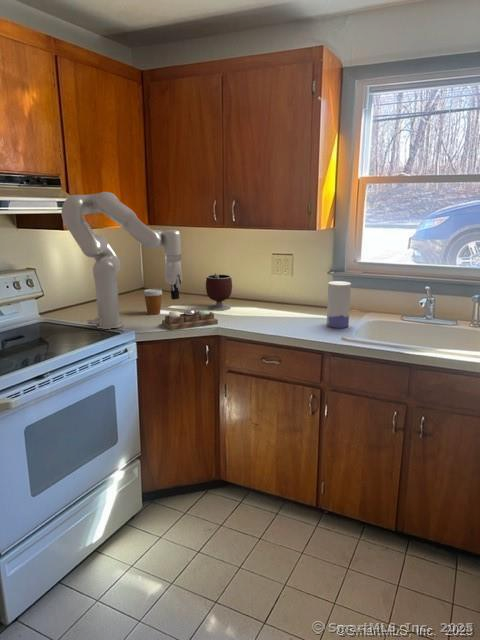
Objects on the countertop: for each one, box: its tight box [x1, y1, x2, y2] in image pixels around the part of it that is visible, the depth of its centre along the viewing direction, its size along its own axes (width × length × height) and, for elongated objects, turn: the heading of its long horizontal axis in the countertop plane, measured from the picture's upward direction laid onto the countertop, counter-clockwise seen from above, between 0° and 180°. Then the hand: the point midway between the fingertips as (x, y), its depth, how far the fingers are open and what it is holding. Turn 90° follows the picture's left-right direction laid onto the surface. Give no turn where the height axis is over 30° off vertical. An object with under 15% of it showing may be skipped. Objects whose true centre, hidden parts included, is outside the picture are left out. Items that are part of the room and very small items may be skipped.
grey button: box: [183, 309, 196, 317], centre depth 220 cm, size 5×5×2 cm
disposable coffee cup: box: [142, 288, 163, 316], centre depth 240 cm, size 10×10×12 cm
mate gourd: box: [205, 273, 233, 312], centre depth 250 cm, size 16×14×20 cm
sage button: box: [198, 310, 211, 315], centre depth 224 cm, size 5×5×2 cm
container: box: [326, 280, 352, 329], centre depth 217 cm, size 10×10×20 cm
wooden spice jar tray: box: [161, 311, 219, 331], centre depth 221 cm, size 23×12×4 cm, turn 119°
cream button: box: [168, 310, 181, 319], centre depth 217 cm, size 5×5×2 cm
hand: (175, 298), depth 215 cm, fingers closed
